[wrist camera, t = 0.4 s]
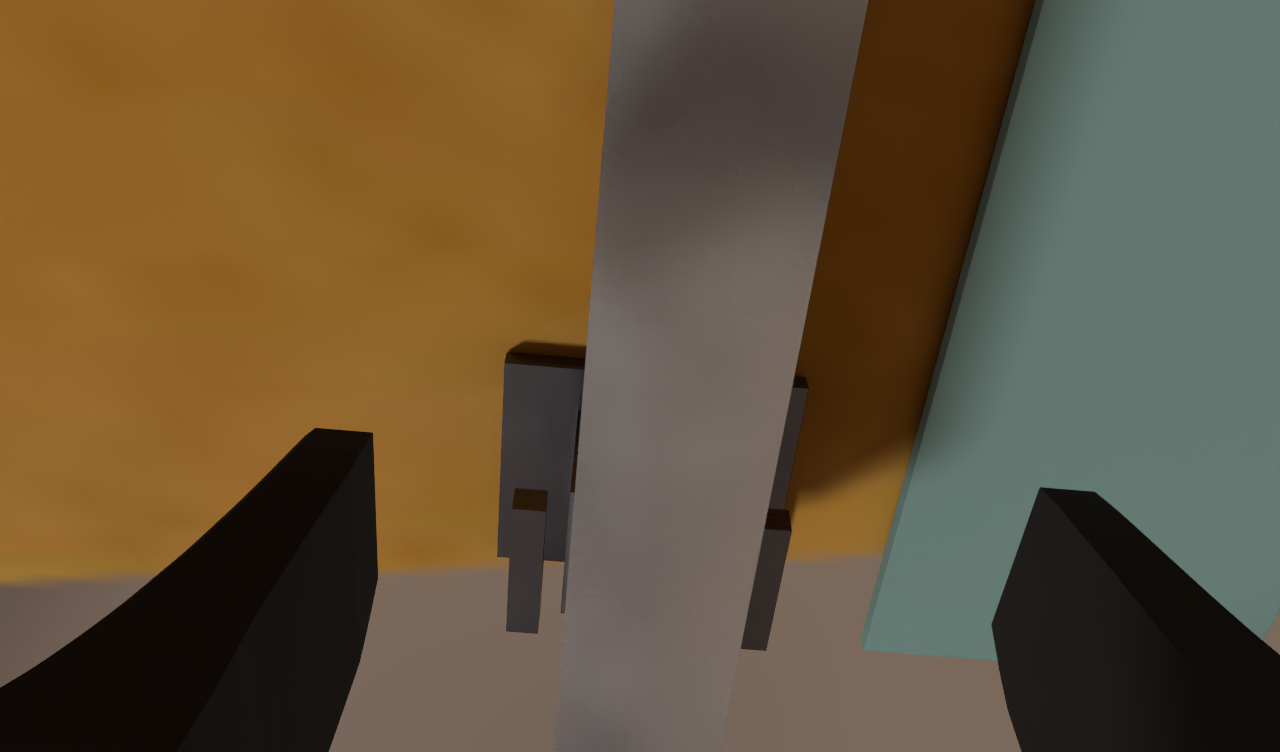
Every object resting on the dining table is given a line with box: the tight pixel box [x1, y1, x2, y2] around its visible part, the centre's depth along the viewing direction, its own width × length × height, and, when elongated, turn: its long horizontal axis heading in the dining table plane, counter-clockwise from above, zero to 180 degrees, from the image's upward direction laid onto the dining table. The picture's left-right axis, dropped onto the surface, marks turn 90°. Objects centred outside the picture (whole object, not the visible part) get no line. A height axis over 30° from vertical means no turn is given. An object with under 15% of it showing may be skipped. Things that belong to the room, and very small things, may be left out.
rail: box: [554, 0, 868, 752], centre depth 17 cm, size 18×3×4 cm, turn 175°
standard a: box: [497, 353, 808, 651], centre depth 23 cm, size 5×6×4 cm
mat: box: [861, 0, 1280, 661], centre depth 21 cm, size 22×9×1 cm, turn 175°
